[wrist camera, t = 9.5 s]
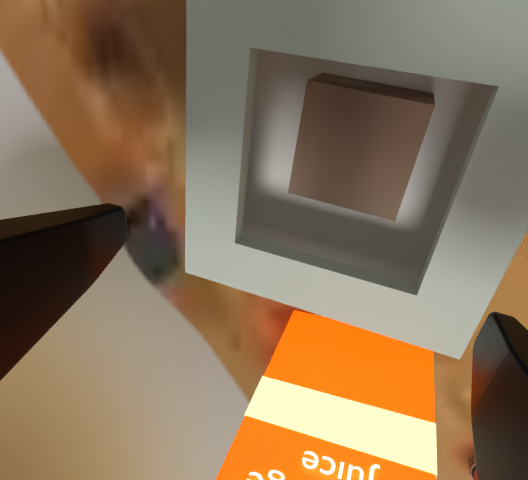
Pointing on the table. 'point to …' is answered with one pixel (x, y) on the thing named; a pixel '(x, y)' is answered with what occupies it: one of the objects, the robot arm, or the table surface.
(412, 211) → the slot box
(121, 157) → the table surface
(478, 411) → the robot arm
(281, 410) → the orange juice
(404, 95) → the brown square block
